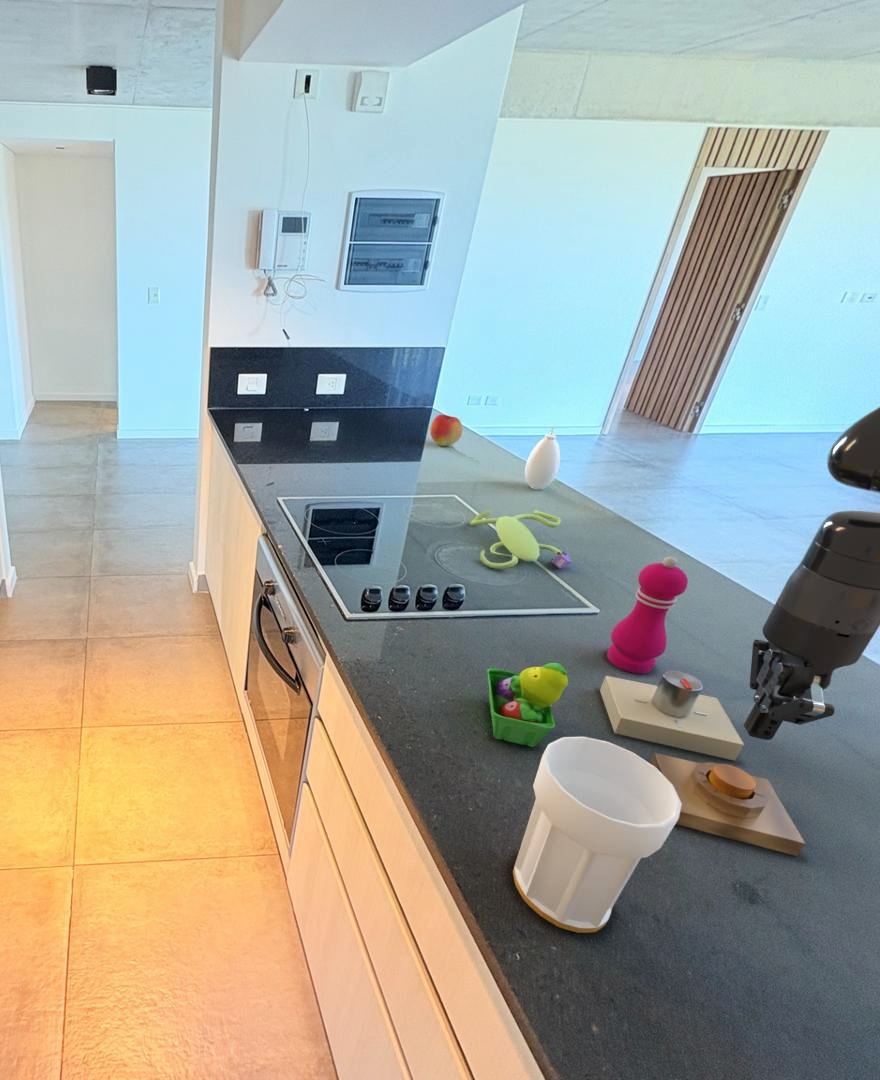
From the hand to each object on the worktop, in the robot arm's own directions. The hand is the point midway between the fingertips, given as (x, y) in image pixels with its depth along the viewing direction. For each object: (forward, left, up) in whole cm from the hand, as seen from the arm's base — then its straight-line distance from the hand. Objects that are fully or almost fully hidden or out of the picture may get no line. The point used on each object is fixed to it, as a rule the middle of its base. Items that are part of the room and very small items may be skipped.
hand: (756, 734), depth 72 cm
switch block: (0, 0, -12) cm, 12 cm away
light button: (0, 0, -8) cm, 8 cm away
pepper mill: (+3, -30, -12) cm, 32 cm away
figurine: (+16, -70, -12) cm, 73 cm away
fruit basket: (+22, -7, -12) cm, 26 cm away
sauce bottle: (+8, -111, -12) cm, 112 cm away
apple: (+32, -144, -12) cm, 148 cm away
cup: (+20, +20, -12) cm, 31 cm away
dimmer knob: (+2, -15, -9) cm, 18 cm away
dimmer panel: (+2, -15, -12) cm, 19 cm away
